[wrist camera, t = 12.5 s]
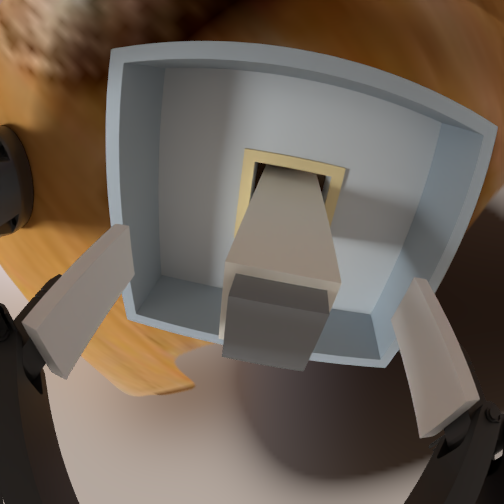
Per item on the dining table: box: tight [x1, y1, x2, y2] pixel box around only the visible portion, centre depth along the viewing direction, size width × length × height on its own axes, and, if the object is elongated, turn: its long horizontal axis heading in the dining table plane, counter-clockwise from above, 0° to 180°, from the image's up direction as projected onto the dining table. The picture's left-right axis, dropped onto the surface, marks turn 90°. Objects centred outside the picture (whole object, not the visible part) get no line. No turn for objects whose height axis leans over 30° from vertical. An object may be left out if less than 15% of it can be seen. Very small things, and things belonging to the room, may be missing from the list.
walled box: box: [106, 41, 498, 368], centre depth 19 cm, size 22×20×8 cm
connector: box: [219, 164, 342, 371], centre depth 16 cm, size 4×4×15 cm
